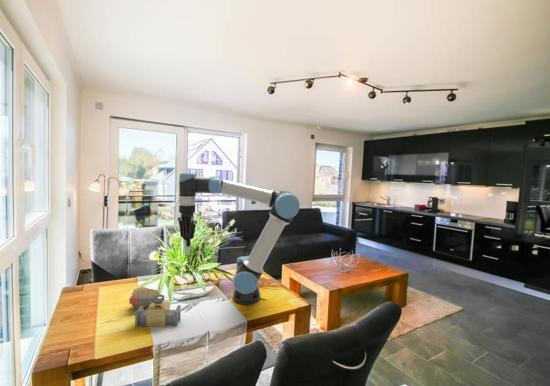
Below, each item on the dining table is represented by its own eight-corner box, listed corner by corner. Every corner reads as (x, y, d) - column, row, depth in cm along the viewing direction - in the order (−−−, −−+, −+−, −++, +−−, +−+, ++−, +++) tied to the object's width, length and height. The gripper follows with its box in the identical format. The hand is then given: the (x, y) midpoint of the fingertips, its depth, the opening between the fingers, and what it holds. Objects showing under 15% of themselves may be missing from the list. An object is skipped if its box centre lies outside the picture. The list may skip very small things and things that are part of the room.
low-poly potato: (122, 312, 134) (133, 307, 128) (124, 288, 139) (135, 283, 133) (152, 310, 145) (164, 306, 139) (153, 288, 150) (164, 283, 144)
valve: (180, 317, 130) (180, 297, 130) (177, 326, 123) (177, 304, 123) (140, 318, 128) (140, 298, 128) (134, 327, 121) (134, 305, 121)
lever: (165, 299, 128) (165, 294, 128) (162, 304, 123) (162, 298, 123) (132, 299, 126) (132, 294, 126) (128, 305, 121) (128, 299, 121)
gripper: (201, 205, 133) (201, 253, 134) (186, 202, 141) (185, 248, 143) (188, 206, 127) (187, 256, 129) (172, 203, 135) (172, 251, 137)
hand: (186, 252), depth 136 cm, fingers closed
